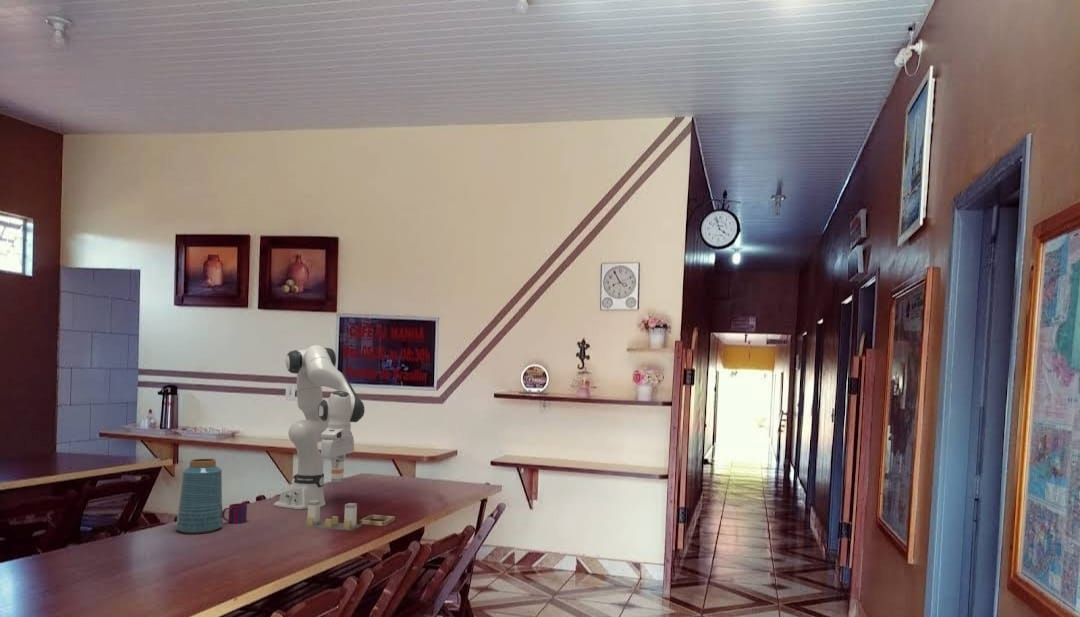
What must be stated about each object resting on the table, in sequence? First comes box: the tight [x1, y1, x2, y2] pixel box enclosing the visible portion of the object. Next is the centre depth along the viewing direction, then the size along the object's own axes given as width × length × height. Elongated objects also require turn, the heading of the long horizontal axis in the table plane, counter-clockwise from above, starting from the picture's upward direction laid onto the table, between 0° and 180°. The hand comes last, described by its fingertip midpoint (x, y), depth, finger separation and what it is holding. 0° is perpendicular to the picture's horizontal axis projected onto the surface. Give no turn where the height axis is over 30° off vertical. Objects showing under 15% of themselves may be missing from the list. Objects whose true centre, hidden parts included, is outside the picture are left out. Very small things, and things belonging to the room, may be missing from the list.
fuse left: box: [307, 500, 321, 525], centre depth 290 cm, size 3×3×9 cm
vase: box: [175, 457, 223, 535], centre depth 283 cm, size 16×16×27 cm
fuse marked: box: [330, 457, 345, 483], centre depth 290 cm, size 3×3×9 cm
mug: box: [222, 502, 248, 525], centre depth 295 cm, size 7×10×7 cm
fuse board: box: [299, 515, 363, 532], centre depth 288 cm, size 22×10×4 cm, turn 77°
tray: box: [358, 514, 397, 527], centre depth 297 cm, size 11×11×2 cm
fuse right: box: [343, 502, 358, 528], centre depth 287 cm, size 3×3×9 cm
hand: (337, 467), depth 290 cm, fingers closed on fuse marked, 3 cm apart
